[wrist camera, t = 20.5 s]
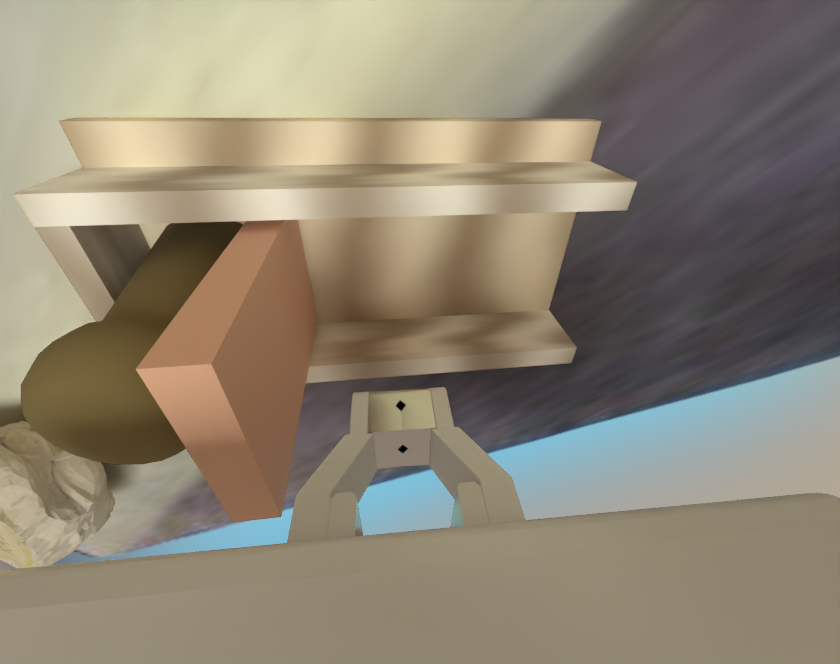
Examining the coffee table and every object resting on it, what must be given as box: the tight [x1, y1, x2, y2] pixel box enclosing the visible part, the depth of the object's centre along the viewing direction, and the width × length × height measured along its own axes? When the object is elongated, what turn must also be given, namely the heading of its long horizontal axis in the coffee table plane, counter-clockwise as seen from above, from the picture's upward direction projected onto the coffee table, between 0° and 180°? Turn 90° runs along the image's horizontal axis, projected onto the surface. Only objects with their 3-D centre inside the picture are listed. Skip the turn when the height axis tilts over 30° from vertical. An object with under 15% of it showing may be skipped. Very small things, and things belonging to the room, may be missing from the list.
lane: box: [13, 118, 637, 383], centre depth 19 cm, size 24×14×5 cm, turn 89°
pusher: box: [136, 220, 317, 522], centre depth 15 cm, size 2×7×12 cm, turn 179°
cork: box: [21, 221, 243, 464], centre depth 15 cm, size 6×6×11 cm
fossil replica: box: [0, 421, 115, 569], centre depth 24 cm, size 12×8×10 cm
